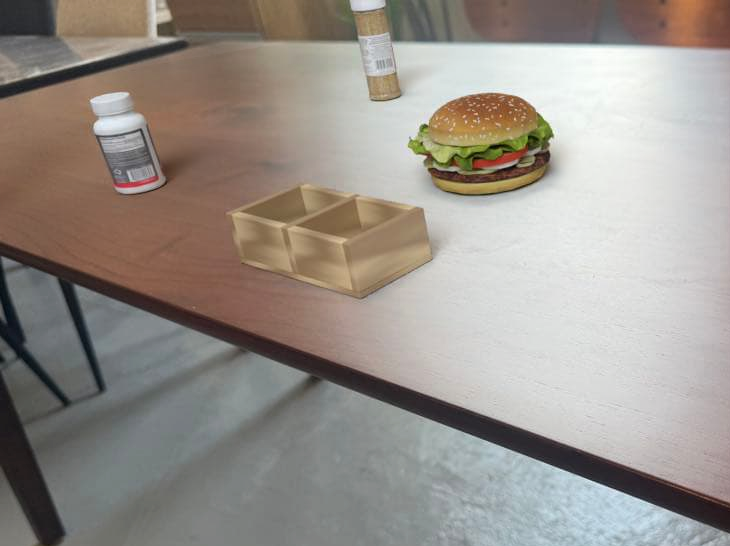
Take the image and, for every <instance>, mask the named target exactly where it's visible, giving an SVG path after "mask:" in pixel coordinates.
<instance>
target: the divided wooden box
mask: <svg viewBox="0 0 730 546" xmlns="http://www.w3.org/2000/svg"><path fill="white" fill-rule="evenodd" d="M424 210H425V209H424V208H423V207H420V206H416V205H411V204H407V203H403V202H397V201H392V200H387V199H384V198H383V199H382V198H378V197H373V196H367V195H363V194H357V193H352V192H349V191H342V190H339V189H333V188H328V187H323V186H318V185H313V184H309V183H305V182H299V183H296V184H294V185H291V186H289V187H286V188H284V189H281V190H278V191H276V192H274V193H272V194H269V195H267V196H265V197H262V198H260V199H257V200H254V201H252V202H250V203H247V204H244V205H242V206H240V207H237V208H234V209H233V210H230V211H228V212H226V213H225V215H226V219H227V222H228V224H229V228H230V232H231V235H232V239H233V241H234V245H235V248H236V251H237V254H238V258H239V262H240V263H241V264H245V265H249V266H252V267H254V268H258V269H261V270H265V271H267V272H271V273H275V274H279V275H281V276H285V277H287V278H291V279H294V280H298V281H301V282H304V283H307V284H311V285H313V286H317V287H321V288H324V289H327V290H331V291H333V292H336V293H339V294H343V295H347V296H350V297H354V298H357V299H359V300H360V299H363V298H365V297H367V296H369V295H371V294H372V293H374V292H376V291H377V290H380V289H381V288H383V287H385V286H387V285H389V284H390V283H393V282H394V281H396V280H397V279H399V278H401V277H403V276H405V275H407V274H409V273H410V272H412V271H414V270H416V269H418V268H419V267H421V266H423V265H425V264H426V263H428V262H430V261H432V260H433V255H432V250H431V244H430V240H429V234H428V228H427V222H426V221H427V220H426V215H425V211H424Z"/></svg>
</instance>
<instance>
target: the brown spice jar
mask: <svg viewBox="0 0 730 546" xmlns="http://www.w3.org/2000/svg"><path fill="white" fill-rule="evenodd" d="M349 4H350V9H351V11H352V14H353V17H354V22H355V23H354V24H355V27H356V32H357V40H358V45H359V50H360V54H361V61H362V66H363V70H364V74H365V78H366V83H367V88H368V92H369V94H368V97H369V99H371V100H372V101H389V100H393V99H396V98H398V97H399V96H401V94H402V90H401V87H400V84H399V78H398V72H397V63H396V58H395V52H394V48H393V45H392V38H391V33H390V28H389V23H388V17H387V12H386V9H387V8H386V6H387V3H386V0H349Z"/></svg>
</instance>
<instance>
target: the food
mask: <svg viewBox="0 0 730 546" xmlns="http://www.w3.org/2000/svg"><path fill="white" fill-rule="evenodd" d="M543 117H544V116H542V114H541V113H539V112H538V111H537V110H536V107H534V105H532V104H531V103H530V102H528V101H527V100H525V99H524V98H522V97H520V96H517V95H515V94H507V93H502V92H492V91H491V92H481V93H473V94H467V95H464V96H460V97H458V98H454V99H453V100H450V101H448V102H446V103H445V104H443V105H441V106H440V107H439V108H437V109H436V110H435V111H434V113H433V114H432V116H431V117H430V118H429V120H428V124H427V123H422V124H421V125H420V126H419V127H418V131H419V132H417V135H416V136H415V138H414V139H412V137H411V136H409V137H408V139H409V141H408V143H407V148H408V149H411V150H412V152H413V153H414V154H415V155H418V156H419V155H421V156H425V158H424V160H423V162H422V165H423V167H425V168H427V170H426V171H427V172H428V173H429V174H430V175H431V180H432V183H433V184H434V185H435V186H436V187H438V188H439V189H441V190H442V191H446V192H450V193H456V194H462V195H484V194H497V193H502V192H507V191H512V190H515V189H517V188H520V187H524V186H525V185H529V184H531V183H533V182H535V181H537V180H538V179H540V178H542V176H543V174H544V172H545V171H546V169H547V164H549V162H550V159H551V156H552V155H551V151H550V146H551V143H550V142H549V141H550V140H551V139H555V134H554V133H553V131H554V130H553V128H552V127H551V125H550V123H549V122H548V121H547V120H545V118H543Z"/></svg>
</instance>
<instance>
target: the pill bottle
mask: <svg viewBox="0 0 730 546" xmlns="http://www.w3.org/2000/svg"><path fill="white" fill-rule="evenodd" d="M89 103H90V106H91V109H92V112H93V113H94V115H95V116H97V117H98V119H97V120H96V121H95V122H94V123H93V126H92V127H93V128H92V129H93V133H94V137H95V138H96V140H97V143H98V145H99V149H100V151H101V153H102V156H103V159H104V161H105V164H106V167H107V169H108V172H109V175H110V178H111V181H112V184H113V185H114V188H115V190H116V192H118V193H119V194H123V195H135V194H141V193H146V192H150V191H152V190H155V189H158V188H160V187H162V186H163V185H164V184H165V183H166V180H167V177H166V175H165V172H164V169H163V166H162V163H161V161H160V158H159V154H158V152H157V149H156V146H155V143H154V140H153V137H152V134H151V130H150V128H149V125H148V122H147V120H146V117H145V116H144V115H143V114H141V113H139V112H135V111H134V108H135V105H134V102H133V100H132V95H131V94H130V93H129V92H126V91H118V92H112V93H111V92H110V93H106V94H105V93H104V94H101V95H98V96H95V97H93V98H91V99H90V100H89Z"/></svg>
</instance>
